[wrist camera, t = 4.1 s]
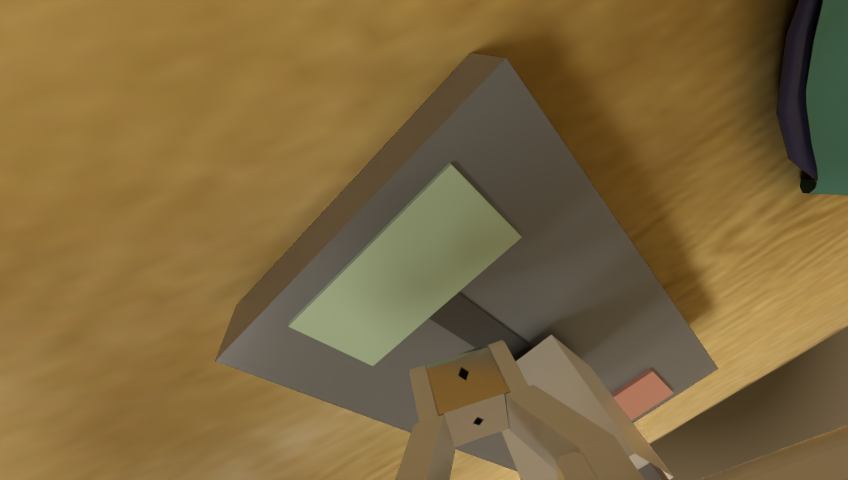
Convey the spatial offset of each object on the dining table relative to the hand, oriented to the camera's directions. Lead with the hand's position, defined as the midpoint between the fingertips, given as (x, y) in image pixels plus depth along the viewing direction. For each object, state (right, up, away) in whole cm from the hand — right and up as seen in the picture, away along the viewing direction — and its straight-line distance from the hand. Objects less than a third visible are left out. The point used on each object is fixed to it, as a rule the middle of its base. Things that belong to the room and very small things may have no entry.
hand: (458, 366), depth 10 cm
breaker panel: (+4, -1, +9) cm, 10 cm away
